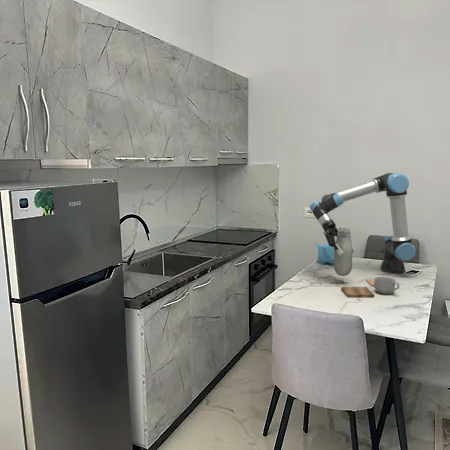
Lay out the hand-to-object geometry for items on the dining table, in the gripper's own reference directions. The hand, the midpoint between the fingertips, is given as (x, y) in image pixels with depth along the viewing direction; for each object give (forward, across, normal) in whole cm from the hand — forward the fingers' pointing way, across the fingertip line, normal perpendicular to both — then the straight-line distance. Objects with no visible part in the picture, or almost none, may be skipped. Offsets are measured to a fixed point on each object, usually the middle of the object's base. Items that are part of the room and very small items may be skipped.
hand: (347, 252), depth 239 cm
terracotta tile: (+21, -16, -6) cm, 27 cm away
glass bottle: (+8, 0, -12) cm, 15 cm away
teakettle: (-16, -32, -42) cm, 56 cm away
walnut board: (+24, +10, -3) cm, 26 cm away
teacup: (+30, -4, +3) cm, 31 cm away
